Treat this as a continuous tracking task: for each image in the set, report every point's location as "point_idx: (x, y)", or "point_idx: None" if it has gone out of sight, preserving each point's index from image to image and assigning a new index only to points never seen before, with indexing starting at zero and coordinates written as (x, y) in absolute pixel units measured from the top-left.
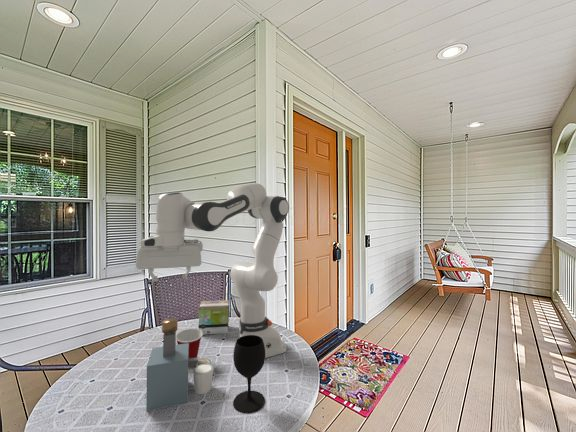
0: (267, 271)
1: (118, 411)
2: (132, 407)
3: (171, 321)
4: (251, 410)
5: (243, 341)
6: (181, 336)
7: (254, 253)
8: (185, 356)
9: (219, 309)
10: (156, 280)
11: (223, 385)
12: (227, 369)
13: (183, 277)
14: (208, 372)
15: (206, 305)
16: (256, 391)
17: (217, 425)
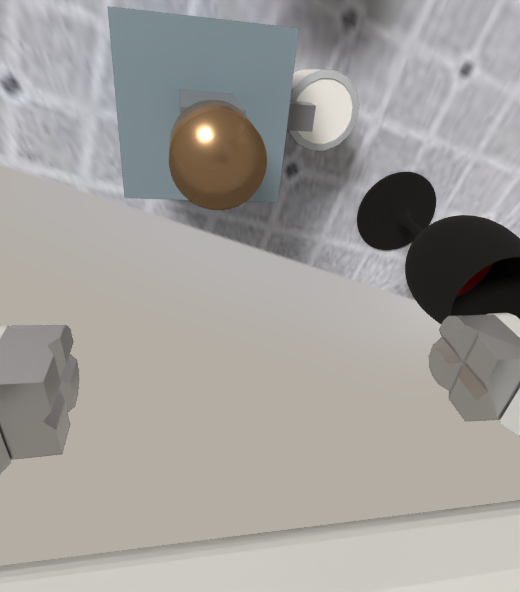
0: None
1: (49, 116)
2: (89, 113)
3: (229, 178)
4: (386, 248)
5: (490, 243)
6: None
7: None
8: (270, 173)
9: None
10: (71, 403)
11: (364, 111)
12: (412, 4)
13: (456, 393)
14: (333, 145)
15: None
16: (430, 186)
17: (307, 259)
